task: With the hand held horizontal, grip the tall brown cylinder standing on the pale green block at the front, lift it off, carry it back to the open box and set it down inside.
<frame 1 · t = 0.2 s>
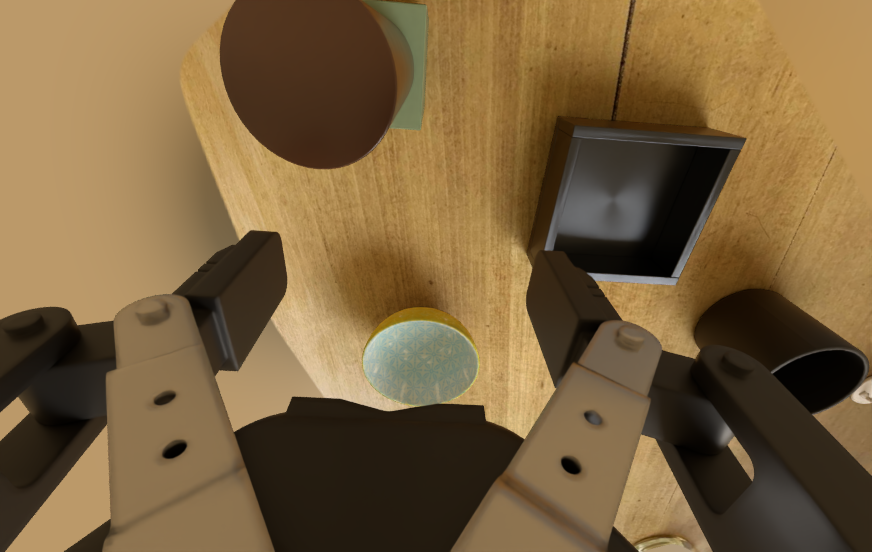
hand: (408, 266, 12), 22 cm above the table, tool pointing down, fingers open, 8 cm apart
mug: (748, 321, 41), on the table
open box: (609, 196, 33), on the table
pale green block: (386, 63, 28), on the table
bowl: (422, 325, 41), on the table
tall brown cylinder: (368, 67, 20), point 9 cm above the table, touching pale green block
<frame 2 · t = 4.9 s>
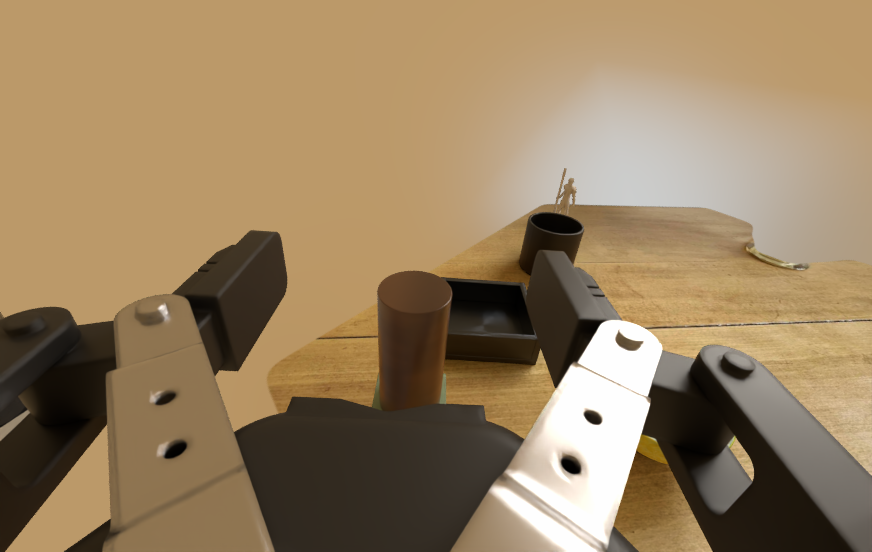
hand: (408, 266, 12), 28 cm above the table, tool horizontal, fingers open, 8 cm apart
mug: (541, 264, 70), on the table
open box: (482, 329, 53), on the table
bowl: (643, 439, 39), on the table
figurine: (559, 222, 88), on the table
tall brown cylinder: (410, 398, 31), point 9 cm above the table, touching pale green block
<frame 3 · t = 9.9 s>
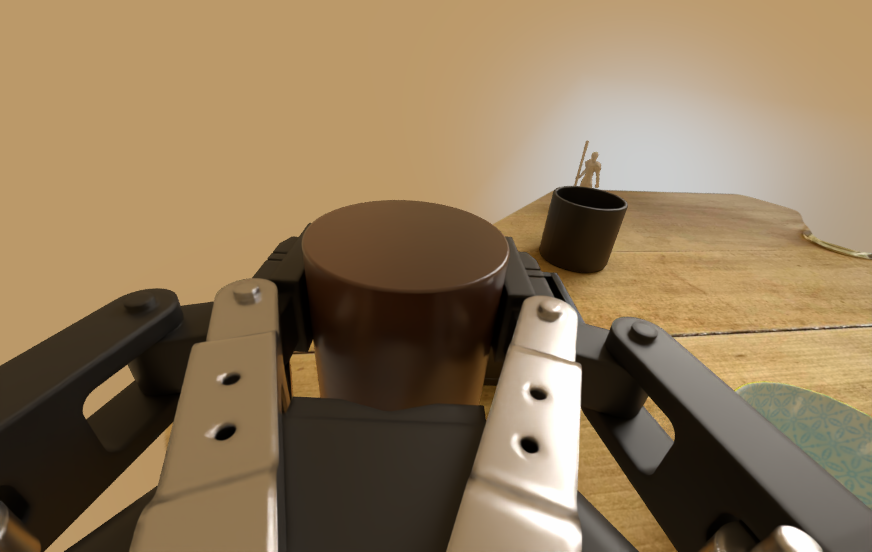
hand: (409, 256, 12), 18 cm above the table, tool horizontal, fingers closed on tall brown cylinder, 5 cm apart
mug: (567, 254, 55), on the table
open box: (502, 337, 37), on the table
bowl: (784, 516, 24), on the table
figurine: (579, 207, 73), on the table
tall brown cylinder: (397, 484, 15), point 9 cm above the table, touching pale green block, gripper
when the fingers open (10 cm above the table, at t = 21.4 s): tall brown cylinder stays where it is, resting on open box.
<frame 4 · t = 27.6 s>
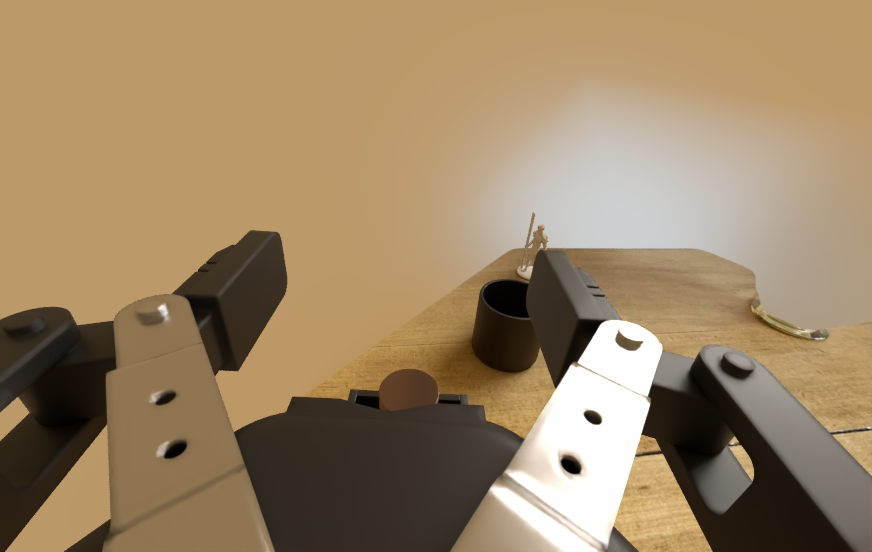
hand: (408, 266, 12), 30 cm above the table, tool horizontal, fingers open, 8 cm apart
mug: (501, 343, 55), on the table
open box: (403, 471, 37), on the table
figurine: (529, 274, 73), on the table
tall brown cylinder: (405, 468, 36), point 1 cm above the table, touching open box
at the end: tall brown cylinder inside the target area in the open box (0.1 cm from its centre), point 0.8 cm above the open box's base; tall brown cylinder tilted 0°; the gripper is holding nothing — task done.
